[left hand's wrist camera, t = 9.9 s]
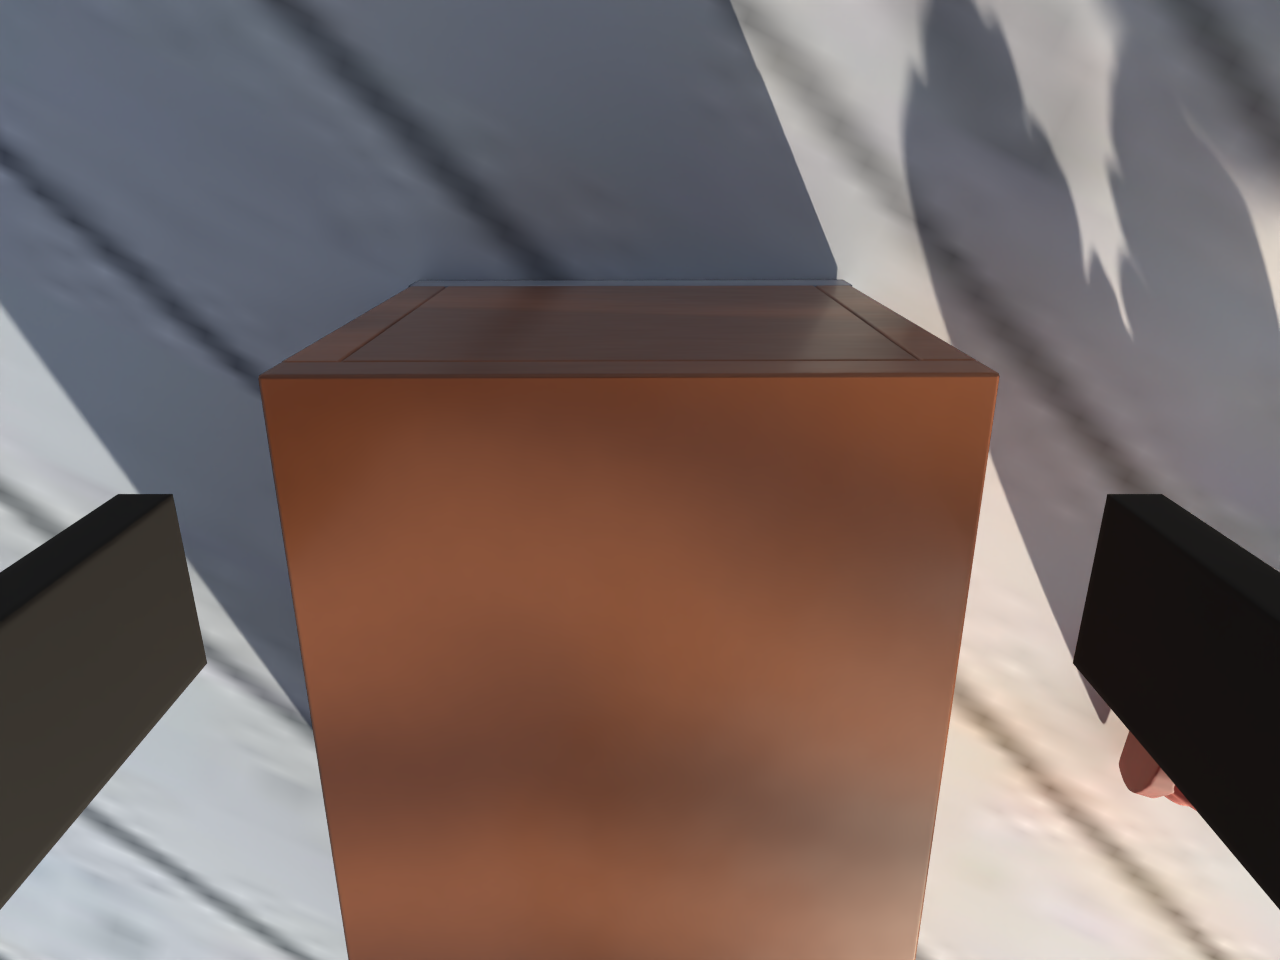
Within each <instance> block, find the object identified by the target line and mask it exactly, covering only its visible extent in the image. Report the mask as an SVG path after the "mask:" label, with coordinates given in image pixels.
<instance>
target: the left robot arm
mask: <svg viewBox="0 0 1280 960" xmlns="http://www.w3.org/2000/svg"><path fill="white" fill-rule="evenodd" d="M206 664H207V660H206V655H205V651H204V646H203V641H202V636H201V631H200V626H199V621H198V616H197V611H196V607H195V602H194V597H193V592H192V587H191V582H190V577H189V572H188V567H187V562H186V557H185V553H184V548H183V543H182V538H181V533H180V528H179V523H178V518H177V513H176V508H175V504H174V499H173V494H118V495H116V496H115V497H113V498H112V499H110V500H109V501H107V502H106V503H104V504H103V505H101V506H100V507H98V508H97V509H95V510H94V511H92V512H91V513H89V514H88V515H86V516H85V517H83V518H82V519H80V520H79V521H77V522H76V523H74V524H73V525H71V526H70V527H68V528H66V529H65V530H63V531H62V532H60V533H59V534H57V535H56V536H54V537H53V538H51V539H50V540H48V541H47V542H45V543H44V544H42V545H41V546H39V547H38V548H36V549H35V550H33V551H32V552H30V553H29V554H27V555H26V556H24V557H23V558H21V559H20V560H18V561H17V562H15V563H14V564H12V565H11V566H9V567H8V568H6V569H5V570H3V571H2V572H0V909H1V908H2V907H3V906H4V905H5V903H6V902H7V901H8V900H9V899H10V897H11V896H12V895H13V894H14V893H15V892H16V890H17V889H18V888H19V887H20V886H21V884H22V883H23V882H24V881H25V880H26V878H27V877H28V876H29V875H30V874H31V872H32V871H33V870H34V869H35V868H36V866H37V865H38V864H39V863H40V862H41V861H42V859H43V858H44V857H45V856H46V855H47V853H48V852H49V851H50V850H51V849H52V847H53V846H54V845H55V844H56V843H57V841H58V840H59V839H60V838H61V837H62V836H63V834H64V833H65V832H66V831H67V830H68V828H69V827H70V826H71V825H72V824H73V822H74V821H75V820H76V819H77V818H78V816H79V815H80V814H81V813H82V812H83V810H84V809H85V808H86V807H87V806H88V805H89V803H90V802H91V801H92V800H93V799H94V797H95V796H96V795H97V794H98V793H99V791H100V790H101V789H102V788H103V787H104V785H105V784H106V783H107V782H108V781H109V779H110V778H111V777H112V776H113V775H114V774H115V772H116V771H117V770H118V769H119V768H120V766H121V765H122V764H123V763H124V762H125V760H126V759H127V758H128V757H129V756H130V754H131V753H132V752H133V751H134V750H135V749H136V747H137V746H138V745H139V744H140V743H141V741H142V740H143V739H144V738H145V737H146V735H147V734H148V733H149V732H150V731H151V729H152V728H153V727H154V726H155V725H156V723H157V722H158V721H159V720H160V719H161V718H162V716H163V715H164V714H165V713H166V712H167V710H168V709H169V708H170V707H171V706H172V704H173V703H174V702H175V701H176V700H177V698H178V697H179V696H180V695H181V694H182V692H183V691H184V690H185V689H186V688H187V687H188V685H189V684H190V683H191V682H192V681H193V679H194V678H195V677H196V676H197V675H198V673H199V672H200V671H201V670H202V669H203V667H204V666H205V665H206ZM1073 664H1074V665H1075V666H1076V667H1077V669H1078V670H1079V671H1080V672H1081V673H1082V675H1083V676H1084V677H1085V678H1086V679H1087V681H1088V682H1089V683H1090V684H1091V685H1092V687H1093V688H1094V689H1095V690H1096V691H1097V692H1098V694H1099V695H1100V696H1101V697H1102V698H1103V700H1104V701H1105V702H1106V703H1107V704H1108V706H1109V707H1110V708H1111V709H1112V710H1113V712H1114V713H1115V714H1116V715H1117V716H1118V718H1119V719H1120V720H1121V721H1122V722H1123V723H1124V725H1125V726H1126V727H1127V728H1128V729H1129V731H1130V732H1131V733H1132V734H1133V735H1134V737H1135V738H1136V739H1137V740H1138V741H1139V743H1140V744H1141V745H1142V746H1143V747H1144V749H1145V750H1146V751H1147V752H1148V753H1149V754H1150V756H1151V757H1152V758H1153V759H1154V760H1155V762H1156V763H1157V764H1158V765H1159V766H1160V768H1161V769H1162V770H1163V771H1164V772H1165V774H1166V775H1167V776H1168V777H1169V778H1170V779H1171V781H1172V782H1173V783H1174V784H1175V785H1176V787H1177V788H1178V789H1179V790H1180V791H1181V793H1182V794H1183V795H1184V796H1185V797H1186V799H1187V800H1188V801H1189V802H1190V803H1191V805H1192V806H1193V807H1194V808H1195V809H1196V810H1197V812H1198V813H1199V814H1200V815H1201V816H1202V818H1203V819H1204V820H1205V821H1206V822H1207V824H1208V825H1209V826H1210V827H1211V828H1212V830H1213V831H1214V832H1215V833H1216V834H1217V836H1218V837H1219V838H1220V839H1221V840H1222V841H1223V843H1224V844H1225V845H1226V846H1227V847H1228V849H1229V850H1230V851H1231V852H1232V853H1233V855H1234V856H1235V857H1236V858H1237V859H1238V861H1239V862H1240V863H1241V864H1242V865H1243V866H1244V868H1245V869H1246V870H1247V871H1248V872H1249V874H1250V875H1251V876H1252V877H1253V878H1254V880H1255V881H1256V882H1257V883H1258V884H1259V886H1260V887H1261V888H1262V889H1263V890H1264V892H1265V893H1266V894H1267V895H1268V896H1269V897H1270V899H1271V900H1272V901H1273V902H1274V903H1275V905H1276V906H1277V907H1278V908H1279V909H1280V572H1278V571H1277V570H1275V569H1274V568H1272V567H1271V566H1269V565H1268V564H1266V563H1265V562H1263V561H1262V560H1260V559H1259V558H1257V557H1256V556H1254V555H1253V554H1251V553H1250V552H1248V551H1247V550H1245V549H1244V548H1242V547H1241V546H1239V545H1238V544H1236V543H1235V542H1233V541H1232V540H1230V539H1229V538H1227V537H1226V536H1224V535H1223V534H1221V533H1220V532H1218V531H1217V530H1215V529H1213V528H1212V527H1210V526H1209V525H1207V524H1206V523H1204V522H1203V521H1201V520H1200V519H1198V518H1197V517H1195V516H1194V515H1192V514H1191V513H1189V512H1188V511H1186V510H1185V509H1183V508H1182V507H1180V506H1179V505H1177V504H1176V503H1174V502H1173V501H1171V500H1170V499H1168V498H1167V497H1165V496H1164V495H1162V494H1107V499H1106V504H1105V508H1104V513H1103V518H1102V523H1101V528H1100V533H1099V538H1098V543H1097V548H1096V553H1095V557H1094V562H1093V567H1092V572H1091V577H1090V582H1089V587H1088V592H1087V597H1086V602H1085V606H1084V611H1083V616H1082V621H1081V626H1080V631H1079V636H1078V641H1077V646H1076V651H1075V656H1074V660H1073Z"/></svg>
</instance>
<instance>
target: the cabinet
mask: <svg viewBox="0 0 1280 960" xmlns="http://www.w3.org/2000/svg"><path fill="white" fill-rule="evenodd" d="M258 379H259V386H260V392H261V399H262V405H263V412H264V418H265V425H266V431H267V437H268V444H269V450H270V457H271V463H272V470H273V476H274V483H275V489H276V495H277V502H278V508H279V515H280V521H281V528H282V534H283V540H284V547H285V553H286V560H287V566H288V573H289V579H290V586H291V592H292V598H293V605H294V611H295V618H296V624H297V631H298V637H299V644H300V650H301V656H302V663H303V669H304V676H305V682H306V689H307V695H308V702H309V708H310V714H311V721H312V727H313V734H314V740H315V747H316V753H317V759H318V766H319V772H320V779H321V785H322V792H323V798H324V805H325V811H326V817H327V824H328V830H329V837H330V843H331V850H332V856H333V863H334V869H335V875H336V882H337V888H338V895H339V901H340V908H341V914H342V921H343V927H344V933H345V940H346V946H347V953H348V959H349V960H915V958H916V951H917V944H918V937H919V930H920V923H921V916H922V909H923V902H924V895H925V888H926V881H927V874H928V868H929V861H930V854H931V847H932V840H933V833H934V826H935V819H936V812H937V805H938V798H939V791H940V784H941V777H942V771H943V764H944V757H945V750H946V743H947V736H948V729H949V722H950V715H951V708H952V701H953V694H954V687H955V680H956V674H957V667H958V660H959V653H960V646H961V639H962V632H963V625H964V618H965V611H966V604H967V597H968V590H969V584H970V577H971V570H972V563H973V556H974V549H975V542H976V535H977V528H978V521H979V514H980V507H981V500H982V493H983V487H984V480H985V473H986V466H987V459H988V452H989V445H990V438H991V431H992V424H993V417H994V410H995V403H996V396H997V390H998V383H999V373H997V372H995V371H994V370H992V369H990V368H989V367H987V366H985V365H984V364H982V363H980V362H978V361H976V360H975V359H973V358H972V357H970V356H968V355H967V354H965V353H963V352H962V351H960V350H958V349H957V348H955V347H953V346H951V345H950V344H948V343H946V342H945V341H943V340H941V339H940V338H938V337H936V336H935V335H933V334H931V333H929V332H928V331H926V330H924V329H923V328H921V327H919V326H918V325H916V324H914V323H913V322H911V321H909V320H907V319H906V318H904V317H902V316H901V315H899V314H897V313H896V312H894V311H892V310H891V309H889V308H887V307H885V306H884V305H882V304H880V303H879V302H877V301H875V300H874V299H872V298H870V297H869V296H867V295H865V294H864V293H862V292H860V291H858V290H857V289H855V288H853V287H852V285H851V284H849V283H848V282H846V281H844V280H441V281H416V282H415V283H413V284H411V285H410V286H409V288H407V289H405V290H404V291H402V292H400V293H398V294H397V295H395V296H393V297H392V298H390V299H388V300H386V301H385V302H383V303H381V304H380V305H378V306H376V307H375V308H373V309H371V310H369V311H368V312H366V313H364V314H363V315H361V316H359V317H357V318H356V319H354V320H352V321H351V322H349V323H347V324H346V325H344V326H342V327H340V328H339V329H337V330H335V331H334V332H332V333H330V334H328V335H327V336H325V337H323V338H322V339H320V340H318V341H317V342H315V343H313V344H311V345H310V346H308V347H306V348H305V349H303V350H301V351H299V352H298V353H296V354H294V355H293V356H291V357H289V358H288V359H286V360H284V361H282V363H280V364H278V365H276V366H274V367H273V368H271V369H269V370H268V371H266V372H264V373H263V374H261V375H259V378H258Z"/></svg>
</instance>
